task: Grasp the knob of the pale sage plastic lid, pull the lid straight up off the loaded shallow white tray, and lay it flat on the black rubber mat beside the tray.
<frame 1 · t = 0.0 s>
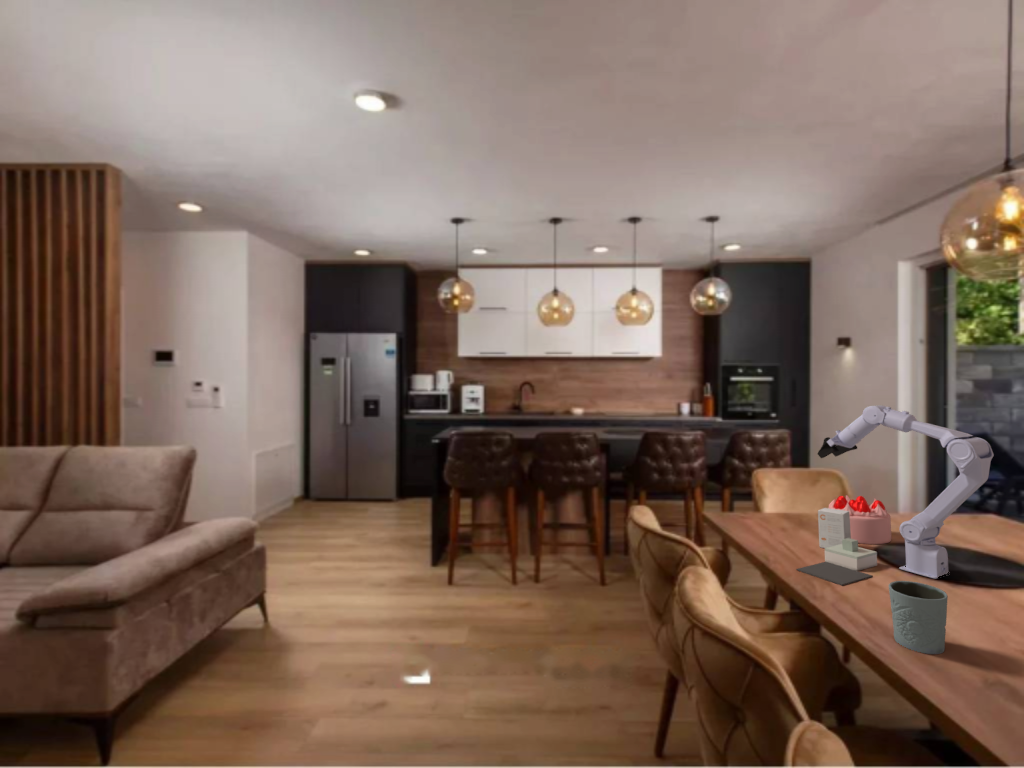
hand: (826, 455, 177), 32 cm above the table, tool tilted 50°, fingers open, 7 cm apart
green embossed pot: (919, 645, 109), on the table
cake: (859, 537, 186), on the table
small box: (835, 548, 174), on the table
mat: (833, 573, 151), on the table
lid: (850, 552, 159), point 3 cm above the table, touching shallow white tray
shallow white tray: (850, 563, 159), on the table
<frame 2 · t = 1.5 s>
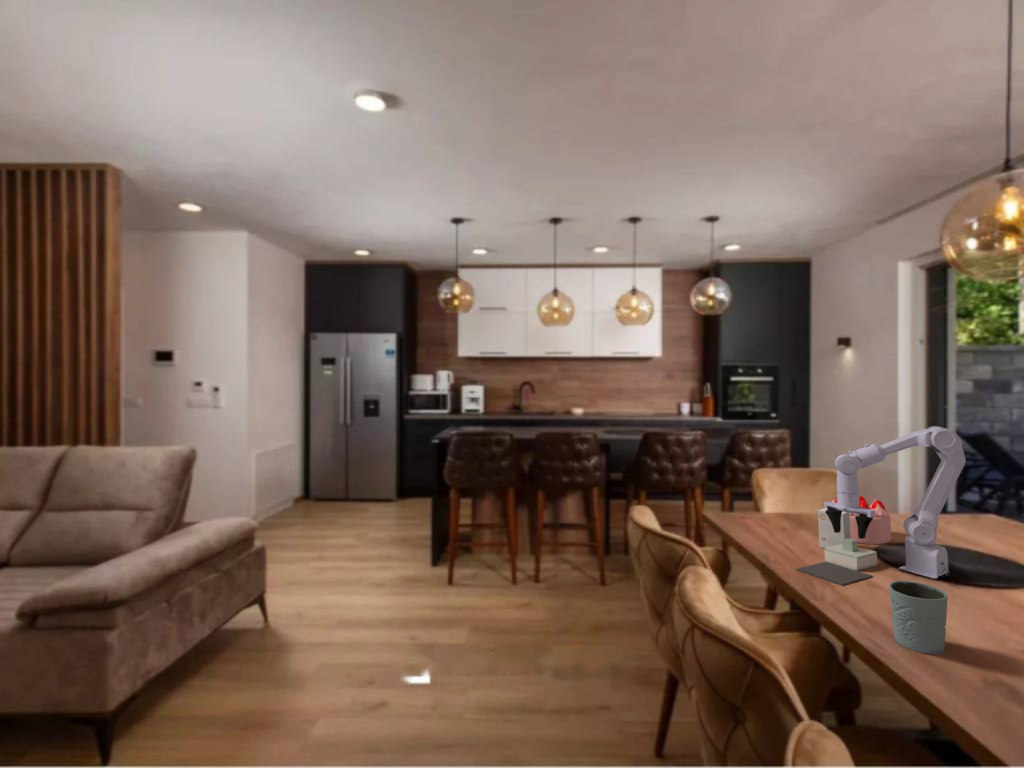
hand: (849, 535, 159), 9 cm above the table, tool pointing down, fingers open, 7 cm apart
nothing on the table moved.
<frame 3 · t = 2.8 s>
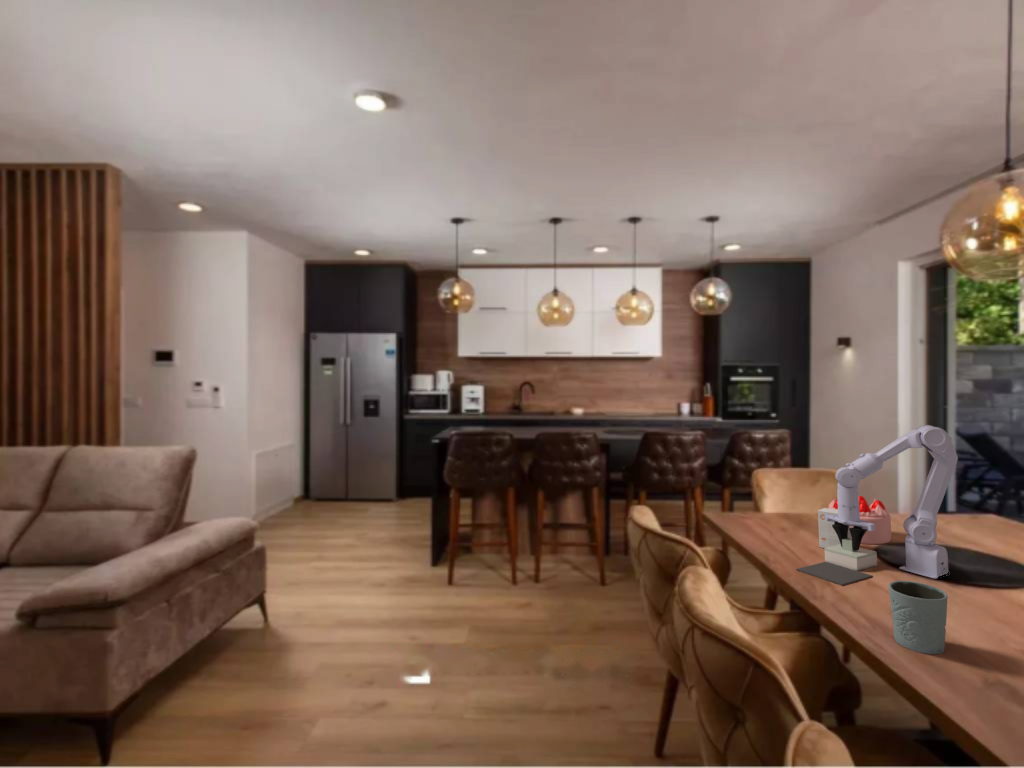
hand: (850, 548, 159), 5 cm above the table, tool pointing down, fingers closed on lid, 3 cm apart
lid: (850, 552, 159), point 4 cm above the table, touching gripper, shallow white tray
everything else where it was.
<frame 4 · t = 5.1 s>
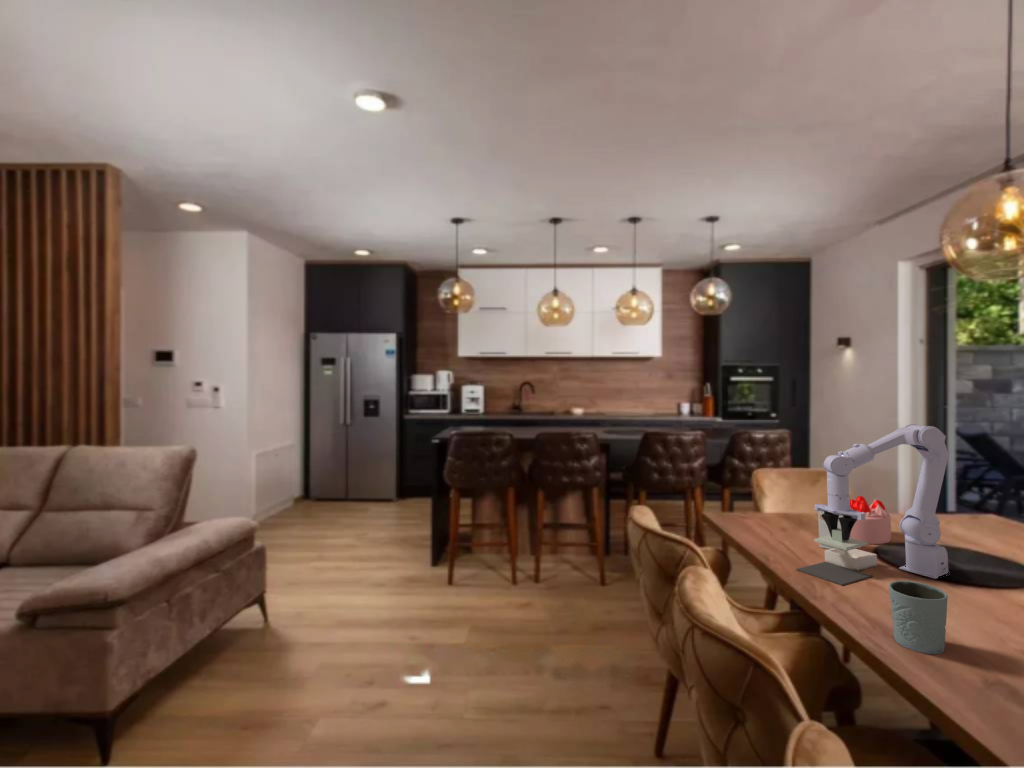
hand: (839, 538, 155), 9 cm above the table, tool pointing down, fingers closed on lid, 3 cm apart
lid: (840, 543, 155), point 8 cm above the table, touching gripper
everything else where it was.
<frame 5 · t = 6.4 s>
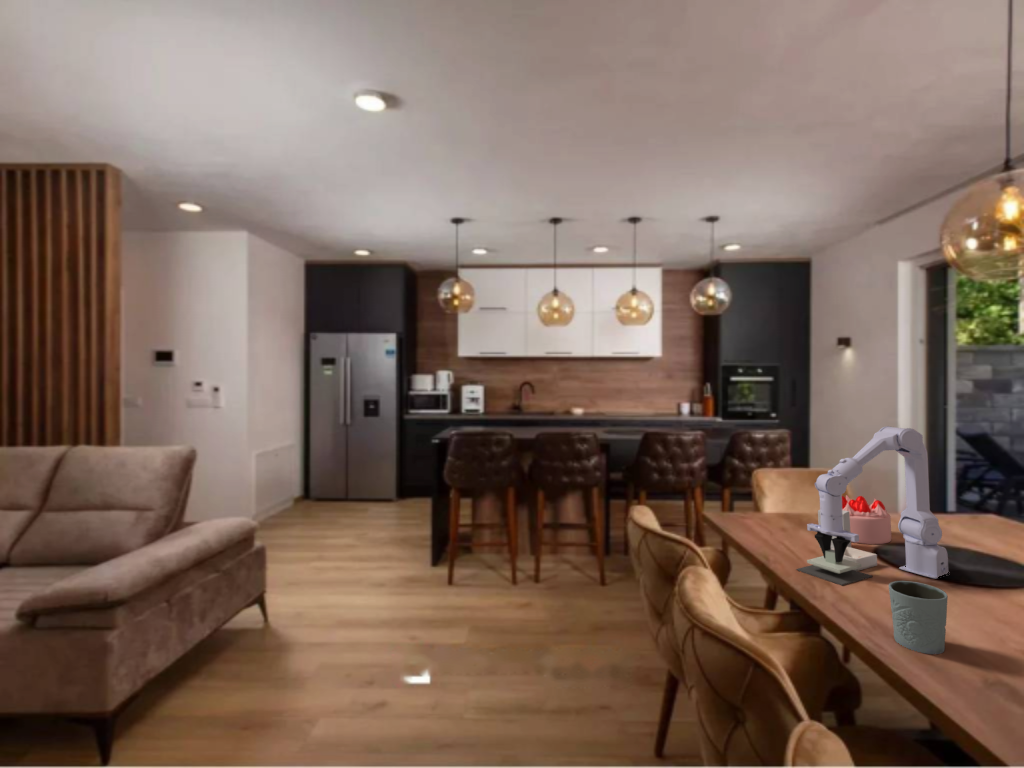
hand: (833, 559, 151), 4 cm above the table, tool pointing down, fingers closed on lid, 3 cm apart
lid: (833, 564, 151), point 3 cm above the table, touching gripper
everything else where it was.
when the fingers open (4 cm above the table, at t = 7.1 s): lid drops 1 cm, resting on mat.
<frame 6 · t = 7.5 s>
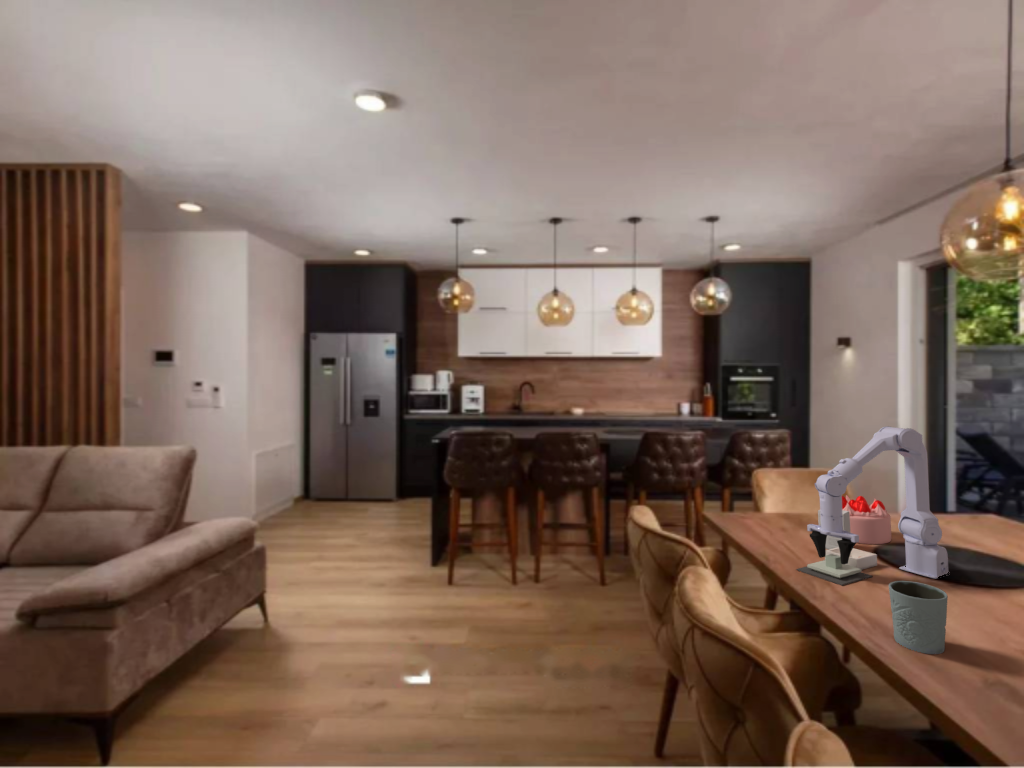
hand: (833, 560, 151), 4 cm above the table, tool pointing down, fingers open, 6 cm apart
lid: (834, 569, 151), point 1 cm above the table, touching mat
everything else where it was.
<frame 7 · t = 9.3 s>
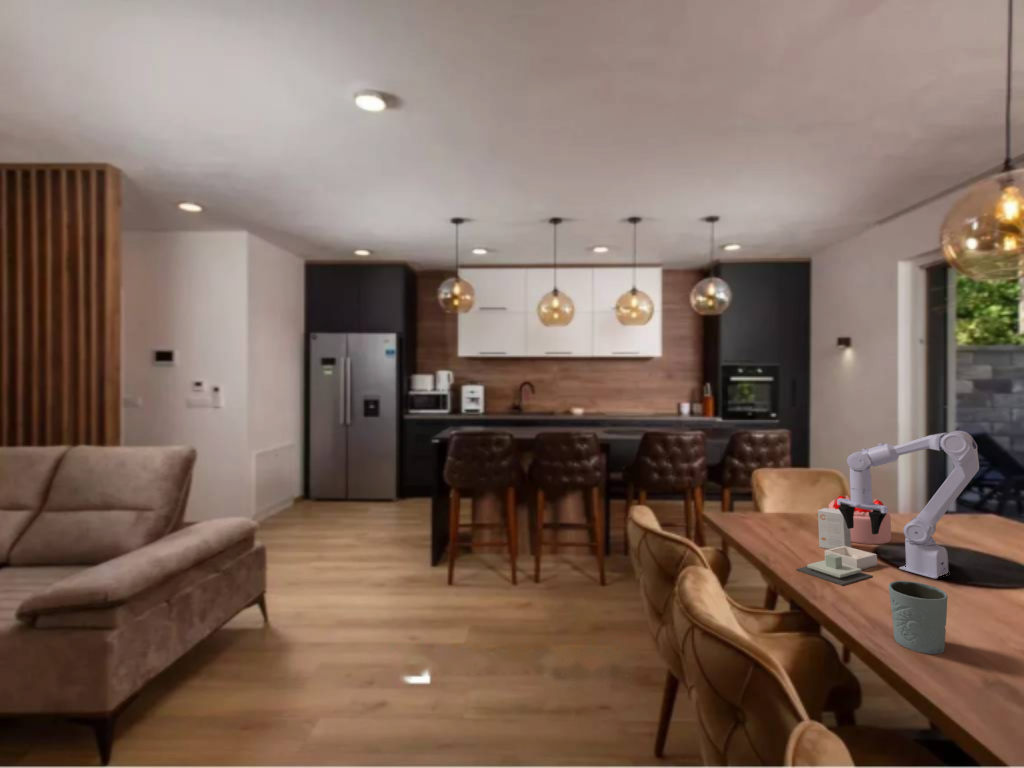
hand: (862, 531, 162), 9 cm above the table, tool pointing down, fingers open, 7 cm apart
nothing on the table moved.
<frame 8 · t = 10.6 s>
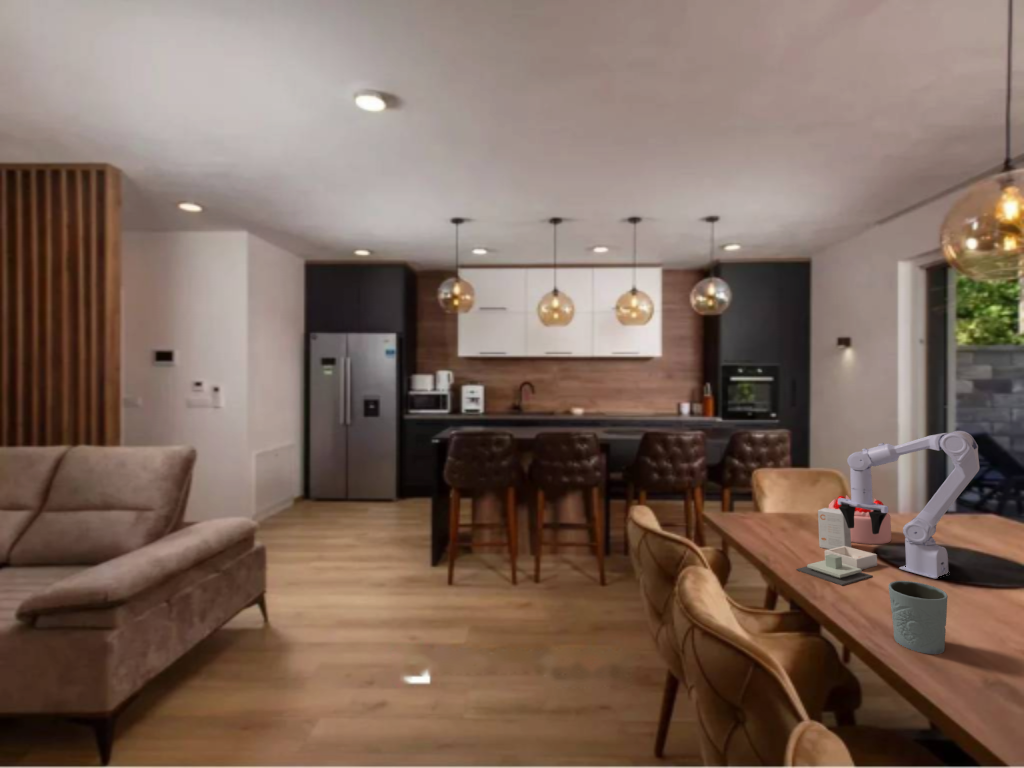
hand: (863, 530, 162), 9 cm above the table, tool pointing down, fingers open, 7 cm apart
nothing on the table moved.
at the end: lid inside the target area on the mat (0.2 cm from its centre), point 1.2 cm above the mat's base; lid tilted 0°; the gripper is holding nothing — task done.
